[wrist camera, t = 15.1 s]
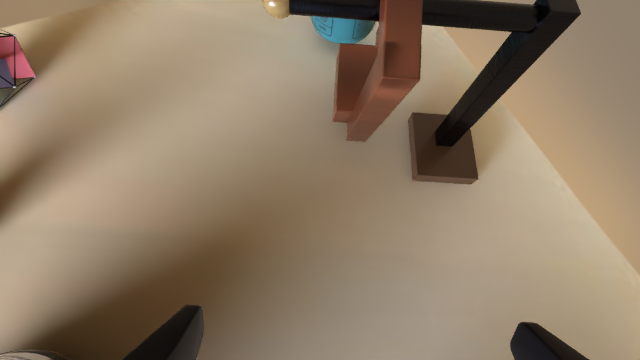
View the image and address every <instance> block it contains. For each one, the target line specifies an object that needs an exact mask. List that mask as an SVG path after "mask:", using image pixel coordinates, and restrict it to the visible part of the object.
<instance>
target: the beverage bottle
mask: <svg viewBox="0 0 640 360" xmlns="http://www.w3.org/2000/svg"><path fill="white" fill-rule="evenodd" d="M312 21H313V22H312V23H313V25H314V27H315V29H316V31H317V32H318V33H319V34H320V35H321V36H322V37H324V38H325V39H327V40H329V41H332V42H335V43H346V44H350V43H355V42H358V41H360V40H362V39H364V38H365V37H366V36H367V35H368V34H369V33H370V31H371V30H372V28H373V26H374V24H375V23H376V22H375V21H366V20H353V19H340V18H328V17H315V16H312ZM375 25H376V24H375ZM374 27H375V26H374Z"/></svg>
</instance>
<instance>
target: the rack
mask: <svg viewBox="0 0 640 360" xmlns="http://www.w3.org/2000/svg"><path fill="white" fill-rule="evenodd" d="M262 1H263V5H264V8H265V9H266V11H267V12H268V13H269V14H270V15H271V16H273V17H275V18H285V17H288V16H289V15H302V16H315V17H328V18H340V19H353V20H366V21H379V17H380V0H262ZM580 14H581V12H580V9H579V7H578V4H577V2H576V0H536V2H535V3H534V4H533V5H530V4H517V3H506V2H493V1H480V0H423V6H422V25H431V26H443V27H456V28H470V29H482V30H495V31H508V32H512V33H511V34H510V35H509V37H508V38H507V39H506V40H505V42H504V43H503V44H502V46H501V47H500V48H499V50H498V51H497V52H496V54H495V55H494V56H493V57H492V58H491V60H490V61H489V62H488V64H487V65H486V66H485V68H484V69H483V70H482V71H481V73H480V74H479V75H478V77H477V78H476V79H475V80H474V82H473V83H472V84H471V86H470V87H469V88H468V89H467V91H466V92H465V93H464V95H463V96H462V97H461V99H460V100H459V101H458V102H457V104H456V105H455V106H454V108H453V109H452V110H451V111H450V113H449V114H448V115H441V114H427V113H412V114H411V116H410V118H409V120H408V123H409V137H410V151H411V165H412V179H413V181H428V182H444V183H459V184H472V183H474V182H475V181H476V180H478V173H477V167H476V161H475V154H474V148H473V142H472V136H471V130H470V128H471V127H472V126H473V125H474V124H475V123H476V122H477V121H478V120H479V119H480V118H481V117H482V116H483V115H484V114H485V113H486V112H487V111H488V110H489V108H490V107H491V106H492V105H493V104H494V103H495V102H496V101H497V100H498V99H499V98H500V97H501V96H502V95H503V94H504V93H505V92H506V91H507V90H508V89H509V88H510V87H511V86H512V85H513V84H514V83H515V82H516V81H517V79H518V78H519V77H520V76H521V75H522V74H523V73H524V72H525V71H526V70H527V69H528V68H529V67H530V66H531V65H532V64H533V63H534V62H535V61H536V60H537V59H538V58H539V57H540V56H541V55H542V53H544V52H545V51H546V49H547V48H548V47H549V46H550V45H551V44H552V43H553V42H554V41H555V40H556V39H557V38H558V37H559V36H560V35H561V34H562V33H563V32H564V31H565V30H566V29H567V28H568V27H569V26H570V25H571V24H572V23H573V22H574V20H575V19H576V18H577V17H578V16H579V15H580Z"/></svg>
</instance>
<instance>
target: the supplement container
mask: <svg viewBox="0 0 640 360" xmlns="http://www.w3.org/2000/svg"><path fill="white" fill-rule="evenodd" d="M0 360H71V359H69V358H68V357H66V356H64V355H61V354H59V353H56V352H52V351H48V350H40V349H26V350H16V351H11V352H6V353H2V354H0Z"/></svg>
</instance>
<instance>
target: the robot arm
mask: <svg viewBox="0 0 640 360" xmlns="http://www.w3.org/2000/svg"><path fill="white" fill-rule="evenodd" d="M203 334H204V319H203V310H202V307H201V306H200V305H186V306H184V307H183V308H181V309H180V310H179V311H178V312H177V313H176V314H174V315H173V316H172V317H171V318H170V319H168V320H167V321H166V322H165V323H164V324H163V325H161V326H160V327H159V328H158V329H157V330H155V331H154V332H153V333H152V334H151V335H150V336H148V337H147V338H146V339H145V340H144V341H143V342H141V343H140V344H139V345H138V346H137V347H135V348H134V349H133V350H132V351H131V352H130V353H128V354H127V355H126V356H125V357H124V358H122V359H121V360H196V358H197V355H198V352H199V348H200V345H201V341H202V338H203ZM510 347H511V351H512V354H513V356H514V359H515V360H589V359H587V358H586V357H585V356H583V355H582V354H580V353H579V352H577V351H576V350H574V349H573V348H572V347H570V346H569V345H567V344H566V343H564V342H563V341H562V340H560V339H559V338H557V337H556V336H554V335H553V334H552V333H550V332H549V331H547V330H546V329H544V328H543V327H542V326H540V325H538V324H537V323H532V322H521V323H519V324H518V326H517V328H516V331H515V333H514V335H513V337H512V339H511V343H510Z"/></svg>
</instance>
